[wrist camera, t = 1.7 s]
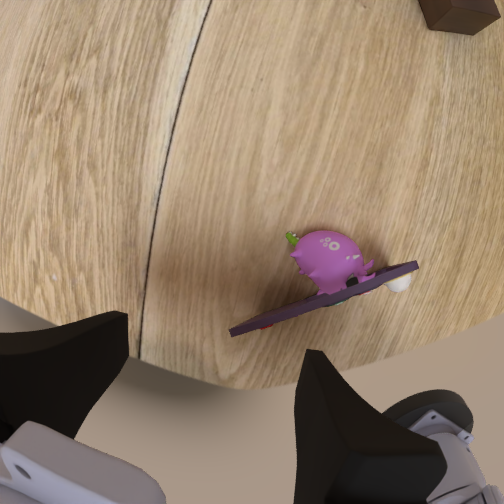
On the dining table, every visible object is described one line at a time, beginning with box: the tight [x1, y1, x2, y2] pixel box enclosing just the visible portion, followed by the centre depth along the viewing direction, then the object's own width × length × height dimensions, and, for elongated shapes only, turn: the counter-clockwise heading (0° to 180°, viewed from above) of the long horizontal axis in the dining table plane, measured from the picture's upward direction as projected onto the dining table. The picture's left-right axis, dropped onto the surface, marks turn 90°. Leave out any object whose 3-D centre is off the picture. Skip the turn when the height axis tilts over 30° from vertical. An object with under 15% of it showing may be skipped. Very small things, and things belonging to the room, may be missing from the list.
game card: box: [229, 230, 419, 337], centre depth 17 cm, size 7×5×9 cm
